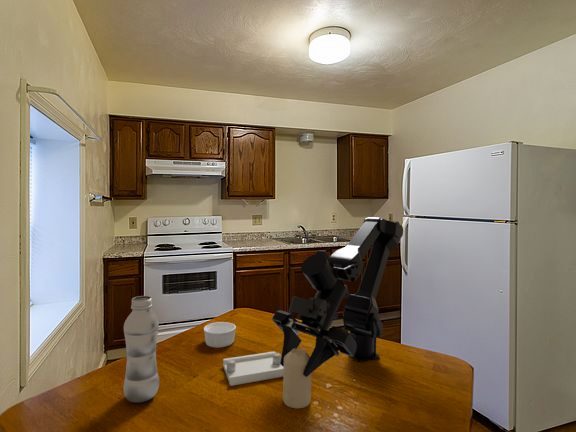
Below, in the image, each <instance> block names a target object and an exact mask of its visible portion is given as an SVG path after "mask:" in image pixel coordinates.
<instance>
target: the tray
mask: <svg viewBox="0 0 576 432" xmlns="http://www.w3.org/2000/svg"><path fill="white" fill-rule="evenodd" d="M281 356H282V353H279V352H276V351H274V350H273V351H268V352H262V353H254V354H248V355H242V356H236V357H235V356H234V357H227V358H223V360H222V362H223V365H222V367H223V370H224V372H225V374H226V379H227V380H228V384H229V386H230V387H231V386H237V385H243V384H248V383H253V382H254V383H255V382H261V381H265V380H272V379H276V378H283V374H284V367H283V366H282V365H281V364H280V362H281Z"/></svg>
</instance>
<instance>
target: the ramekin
mask: <svg viewBox="0 0 576 432" xmlns="http://www.w3.org/2000/svg"><path fill="white" fill-rule="evenodd" d="M236 330H237V327H236V325H235V324H234V323H232V322H228V321H218V322H212V323H211V322H210V323H208V324H206V325H205V326H203V332H204V341H205V344H206V345H207V346H208V347H211V348H218V349H219V348H225V347H228V346H231V345H232V344H233V343H234V342H235V337H236V336H235V333H236Z"/></svg>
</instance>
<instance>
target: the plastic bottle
mask: <svg viewBox="0 0 576 432" xmlns="http://www.w3.org/2000/svg"><path fill="white" fill-rule="evenodd" d="M152 300H153V299H152V296H151V295H138V296H135V297H132V298H131V305H130V309H131V312H130V314H129V315H128V316H127V318H126V319H125V321H124V324H123V334H124V339H125V348H126V349H125V350H126V351H125V352H126V365H125V366H126V369H125V376H124V382H123V387H122V389H123V394H124V398H126V400H127V401H128V402H130V403H134V404H136V403H137V404H140V403H144V402H148V401H150V400H151V399H153V398H154V397H155V396H156V394H157V393H158V391H159V387H160V377H159V372H158V367H157V366H158V365H157V355H156V354H157V339H158V334H159V324H160V323H159V320H158V319H159V318H158V317H157V315H156V314H155V312H154V311H153V310H152V308H153V301H152Z"/></svg>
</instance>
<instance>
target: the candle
mask: <svg viewBox="0 0 576 432" xmlns="http://www.w3.org/2000/svg"><path fill="white" fill-rule="evenodd" d="M310 356H311V355H309V353H308V352H307V351H306V350H305V349H303V348H297V349H295V348H293V349H292V350H291V351H290V352H289V353H288V354H286V355H285V356H284V374H283V377H282V378H283V379H282V380H283V382H282V383H283V385H282V390H283V391H282V399H283V400H282V401H283V403H284V404H285V405H286V406H287V407H289V408H292V409H295V410H297V409H303V408H307V407H308V406H309V405H310V403H311V397H312V396H311V395H312V393H311V392H312V373H311V374H310V375H308V376H307V377H305V376H304V375H303V372H304V370H305V367H306V365H307V363H308V361H309V359H310Z"/></svg>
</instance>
